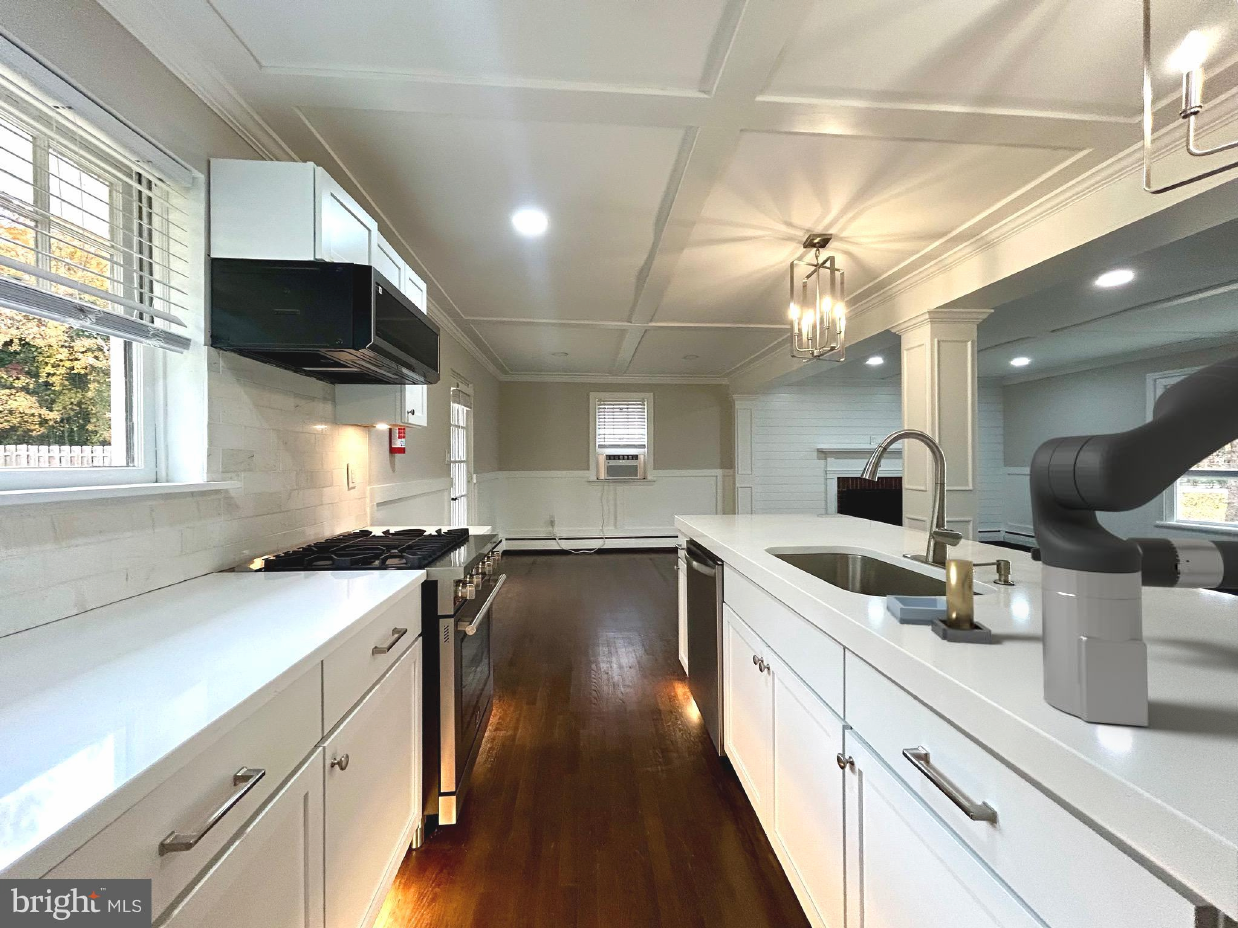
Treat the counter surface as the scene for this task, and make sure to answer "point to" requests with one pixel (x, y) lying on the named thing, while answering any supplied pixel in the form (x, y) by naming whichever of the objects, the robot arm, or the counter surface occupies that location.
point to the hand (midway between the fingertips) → (1039, 558)
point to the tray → (916, 609)
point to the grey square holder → (961, 632)
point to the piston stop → (959, 594)
